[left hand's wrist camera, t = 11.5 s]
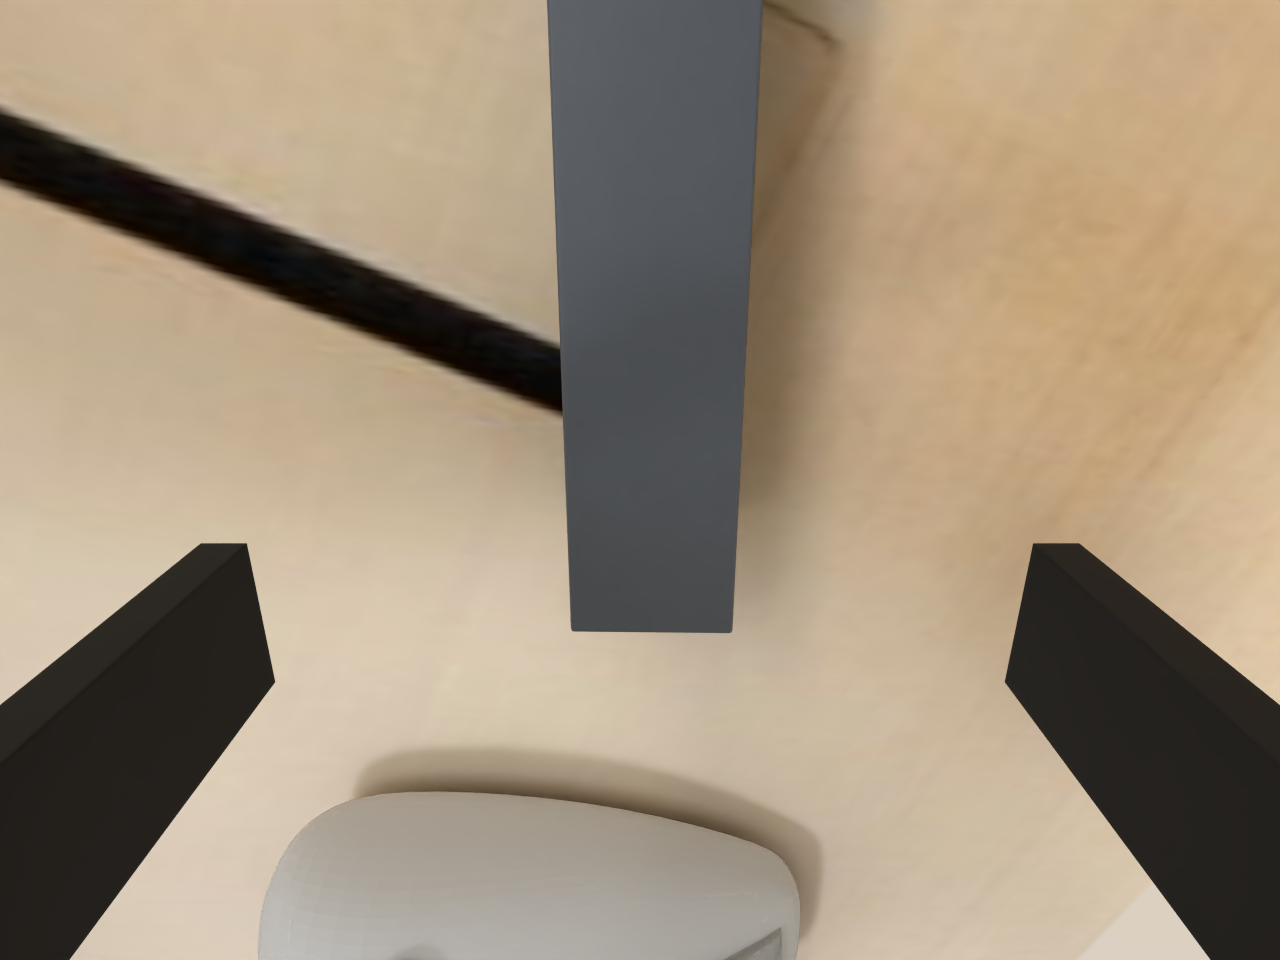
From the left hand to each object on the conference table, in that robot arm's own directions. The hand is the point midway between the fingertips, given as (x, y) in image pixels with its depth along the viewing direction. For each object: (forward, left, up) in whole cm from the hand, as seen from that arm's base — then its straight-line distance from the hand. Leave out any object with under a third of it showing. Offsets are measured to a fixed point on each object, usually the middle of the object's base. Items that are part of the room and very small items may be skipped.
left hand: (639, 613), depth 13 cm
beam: (+18, +31, -17) cm, 39 cm away
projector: (-17, -20, -17) cm, 31 cm away
